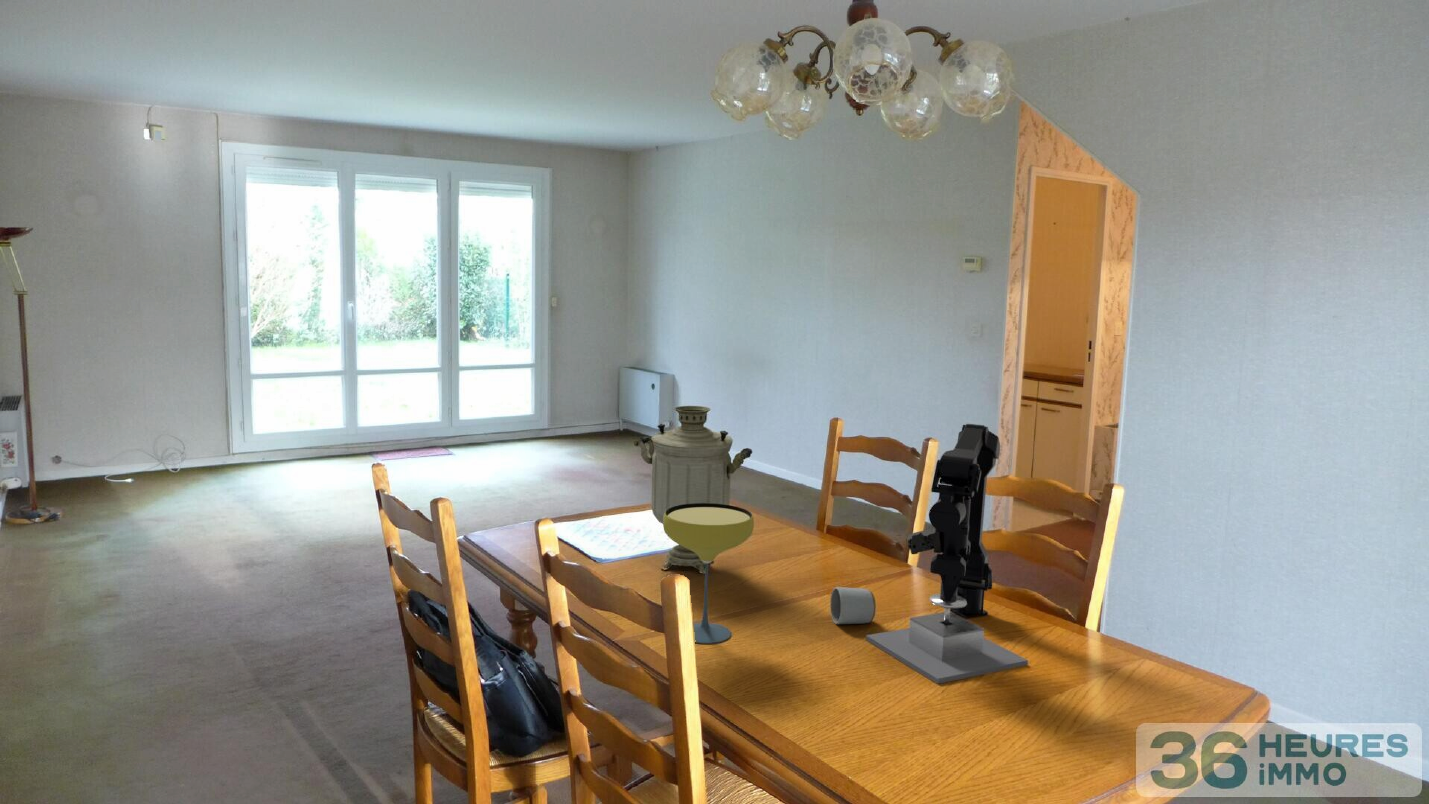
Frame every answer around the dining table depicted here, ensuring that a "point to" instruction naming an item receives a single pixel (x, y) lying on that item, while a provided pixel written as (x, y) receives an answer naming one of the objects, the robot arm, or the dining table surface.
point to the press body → (946, 636)
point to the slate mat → (947, 670)
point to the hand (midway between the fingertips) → (948, 597)
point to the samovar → (689, 470)
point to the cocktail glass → (708, 545)
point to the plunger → (947, 603)
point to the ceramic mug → (852, 605)
